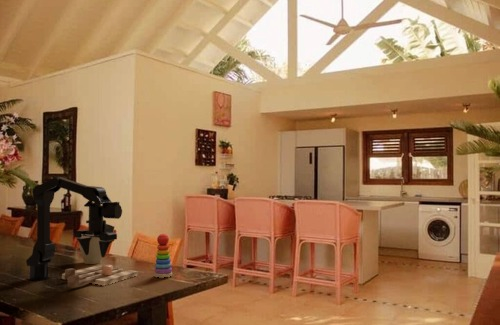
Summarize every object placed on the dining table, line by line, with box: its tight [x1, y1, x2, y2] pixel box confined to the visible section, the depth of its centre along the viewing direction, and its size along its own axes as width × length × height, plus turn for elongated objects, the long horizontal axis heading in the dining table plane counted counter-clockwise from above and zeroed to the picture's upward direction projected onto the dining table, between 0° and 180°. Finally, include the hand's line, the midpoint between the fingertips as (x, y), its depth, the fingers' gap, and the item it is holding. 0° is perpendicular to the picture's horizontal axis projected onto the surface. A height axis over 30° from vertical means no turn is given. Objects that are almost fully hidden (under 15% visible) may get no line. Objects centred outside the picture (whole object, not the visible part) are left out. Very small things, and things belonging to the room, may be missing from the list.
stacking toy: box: [153, 233, 173, 279], centre depth 187 cm, size 8×8×19 cm
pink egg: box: [101, 264, 114, 275], centre depth 179 cm, size 4×4×4 cm
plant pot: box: [78, 234, 102, 265], centre depth 212 cm, size 15×15×16 cm
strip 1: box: [64, 267, 102, 280], centre depth 184 cm, size 22×3×4 cm, turn 154°
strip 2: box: [67, 273, 115, 289], centre depth 172 cm, size 22×3×4 cm, turn 154°
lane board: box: [61, 265, 139, 287], centre depth 182 cm, size 22×24×2 cm
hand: (94, 256), depth 172 cm, fingers open, 9 cm apart
